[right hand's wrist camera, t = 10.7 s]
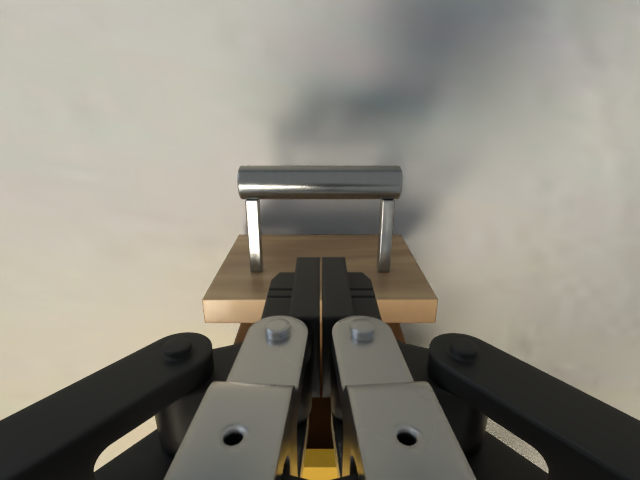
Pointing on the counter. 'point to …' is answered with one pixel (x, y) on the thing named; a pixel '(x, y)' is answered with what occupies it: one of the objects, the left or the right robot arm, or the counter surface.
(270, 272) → the drawer
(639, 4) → the counter surface
